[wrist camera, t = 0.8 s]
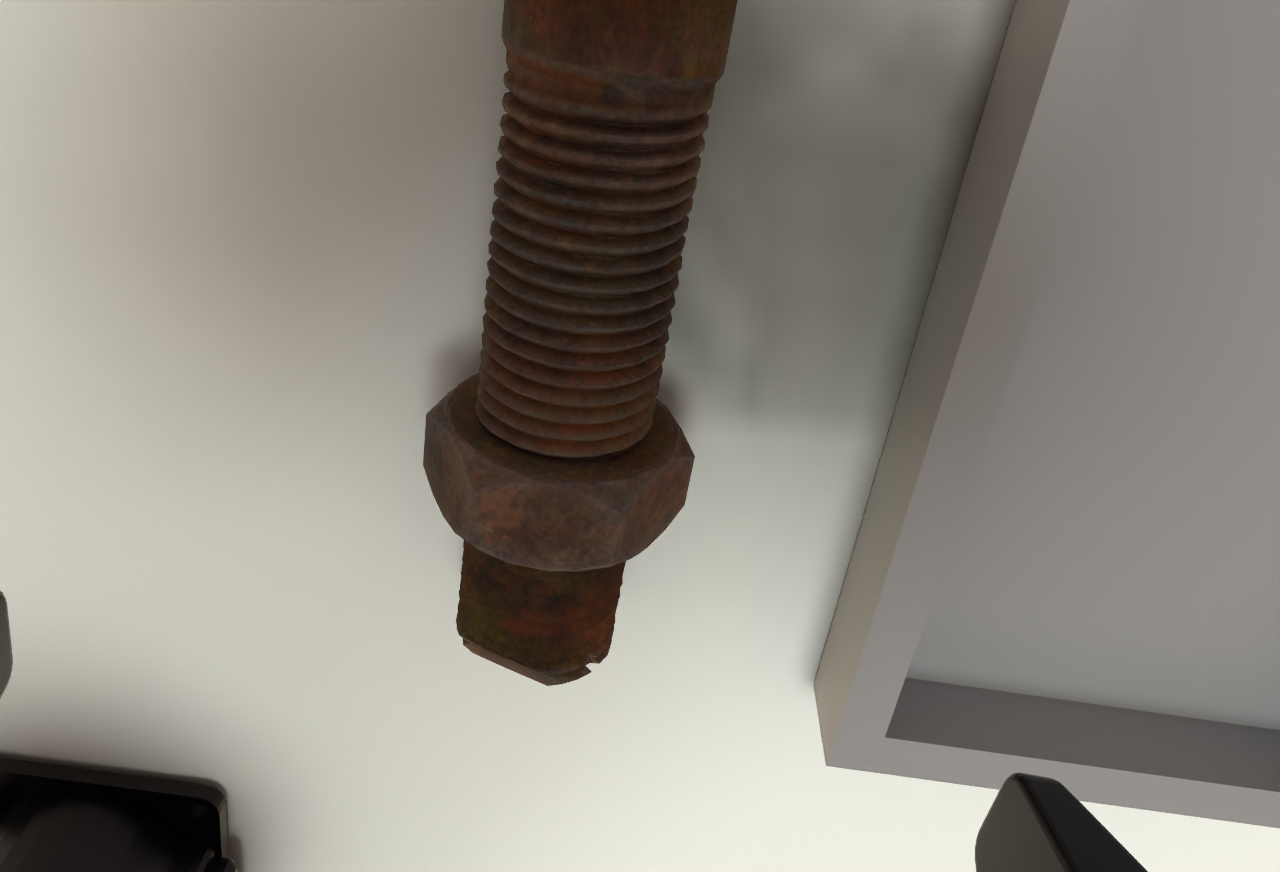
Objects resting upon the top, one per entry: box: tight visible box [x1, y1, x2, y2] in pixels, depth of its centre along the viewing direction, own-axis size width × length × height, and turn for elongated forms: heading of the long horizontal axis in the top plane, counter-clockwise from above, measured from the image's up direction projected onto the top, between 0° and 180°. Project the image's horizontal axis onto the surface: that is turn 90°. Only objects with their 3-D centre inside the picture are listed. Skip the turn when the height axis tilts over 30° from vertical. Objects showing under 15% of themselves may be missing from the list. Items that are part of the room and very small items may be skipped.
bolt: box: [423, 0, 737, 686], centre depth 18 cm, size 6×5×15 cm
